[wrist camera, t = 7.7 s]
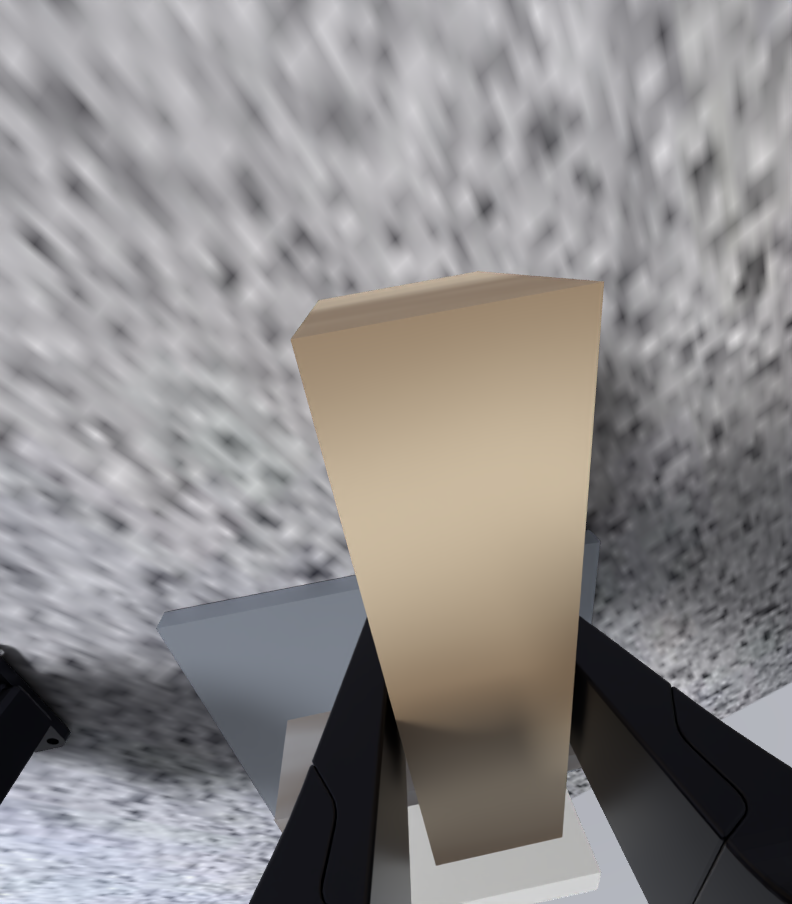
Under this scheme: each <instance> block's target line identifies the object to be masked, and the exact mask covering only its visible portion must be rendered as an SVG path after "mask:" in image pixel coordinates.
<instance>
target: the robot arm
mask: <svg viewBox="0 0 792 904" xmlns="http://www.w3.org/2000/svg"><path fill="white" fill-rule="evenodd" d="M70 733H71V732H70V730H69V729H68V728H67V727H66V726H65V725H64V724H63V722H62V721H61V720H60V719H59V718H58V717H57V716H56V715H55V714H54V713H53V712H52V711H51V710H50V709H49V707H48V706H47V705H46V704H45V703H44V702H43V701H42V700H41V699H40V698H39V697H38V696H37V695H36V694H35V692H34V691H33V690H32V689H31V688H30V687H29V686H28V685H27V684H26V683H25V682H24V681H23V680H22V678H21V677H20V676H19V675H18V674H17V673H16V672H15V671H14V670H13V669H12V668H11V667H10V666H9V665H8V663H7V662H6V661H5V660H4V659H3V658H2V657H1V656H0V805H1V803H2V801H3V800H4V798H5V797H6V795H7V794H8V792H9V790H10V789H11V787H12V786H13V784H14V783H15V781H16V780H17V778H18V776H19V775H20V773H21V772H22V770H23V769H24V767H25V765H26V764H27V762H28V761H29V759H30V758H31V756H32V754H33V753H34V752H38V751H43V750H48V749H53V748H58V747H61V746H63V745H64V744H65V743H66V741H67V739H68V738H69V736H70ZM569 743H570V745H571V747H572V749H573V751H574V753H575V755H576V757H577V759H578V761H579V763H580V765H581V767H582V769H583V771H584V773H585V775H586V777H587V779H588V781H589V783H590V786H591V788H592V790H593V791H594V794H595V795H596V798H597V800H598V802H599V804H600V806H601V808H602V810H603V812H604V814H605V816H606V818H607V820H608V822H609V824H610V826H611V828H612V830H613V832H614V834H615V836H616V838H617V840H618V842H619V844H620V846H621V848H622V851H623V853H624V855H625V857H626V859H627V861H628V863H629V865H630V867H631V869H632V871H633V873H634V875H635V877H636V879H637V881H638V883H639V885H640V887H641V889H642V891H643V893H644V895H645V897H646V899H647V901H648V903H649V904H792V768H791V767H790V766H788V765H787V764H785V763H784V762H782V761H781V760H779V759H778V758H776V757H774V756H773V755H771V754H769V753H768V752H767V751H765V750H764V749H762V748H761V747H759V746H758V745H756V744H755V743H753V742H752V741H750V740H749V739H747V738H746V737H744V736H743V735H741V734H740V733H738V732H737V731H735V730H734V729H732V728H731V727H729V726H728V725H726V724H725V723H723V722H722V721H721V720H719V719H718V718H716V717H715V716H714V715H712V714H711V713H710V712H708V711H707V710H705V709H704V708H703V707H701V706H700V705H698V704H697V703H696V702H694V701H693V700H692V699H690V698H689V697H688V696H686V695H685V694H684V693H682V692H681V691H680V690H678V689H677V688H676V687H671V684H670V683H669V682H667V681H666V680H665V679H663V678H662V677H661V676H659V675H658V674H657V673H655V672H654V671H653V670H651V669H650V668H649V667H647V666H646V665H645V664H643V663H642V662H641V661H639V660H638V659H637V658H635V657H634V656H633V655H631V654H630V653H629V652H627V651H626V650H625V649H623V648H622V647H621V646H619V645H618V644H617V643H615V642H614V641H613V640H611V639H610V638H609V637H607V636H606V635H605V634H604V633H602V632H601V631H600V630H598V629H597V628H596V627H594V626H593V625H592V624H590V623H589V622H588V621H586V620H585V619H584V618H582V617H581V616H580V615H579V622H578V635H577V648H576V662H575V675H574V688H573V702H572V715H571V729H570V742H569ZM312 763H313V765H310V767H309V770H308V772H307V775H306V777H305V780H304V783H303V785H302V788H301V790H300V793H299V795H298V798H297V800H296V803H295V805H294V808H293V810H292V812H291V815H290V817H289V820H288V822H287V824H286V826H285V829H284V831H283V833H282V835H281V837H280V839H279V842H278V844H277V846H276V848H275V850H274V852H273V855H272V857H271V859H270V861H269V863H268V865H267V867H266V869H265V871H264V873H263V875H262V877H261V879H260V882H259V884H258V886H257V888H256V890H255V892H254V894H253V896H252V898H251V900H250V902H249V904H411V879H410V853H409V827H408V801H407V775H406V756H405V752H404V749H403V745H402V741H401V738H400V734H399V730H398V727H397V723H396V720H395V716H394V712H393V709H392V705H391V701H390V698H389V694H388V691H387V687H386V683H385V680H384V676H383V672H382V669H381V665H380V662H379V658H378V654H377V651H376V647H375V643H374V640H373V636H372V633H371V629H370V625H369V622H368V618H367V617H366V620H365V623H364V625H363V628H362V631H361V633H360V636H359V638H358V641H357V644H356V646H355V649H354V652H353V654H352V657H351V659H350V662H349V665H348V667H347V670H346V673H345V675H344V678H343V681H342V683H341V686H340V688H339V691H338V694H337V696H336V699H335V702H334V704H333V707H332V709H331V712H330V715H329V717H328V720H327V723H326V725H325V728H324V731H323V733H322V736H321V738H320V741H319V744H318V746H317V749H316V752H315V754H314V757H313V759H312Z"/></svg>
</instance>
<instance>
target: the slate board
mask: <svg viewBox="0 0 792 904" xmlns="http://www.w3.org/2000/svg"><path fill="white" fill-rule="evenodd" d="M599 551H600V541H599V540H598V538H597V537H596V536H595V535H594V534H593V533H592V532H591V531H590V530H585V542H584V555H583V568H582V582H581V595H580V608H579V615H580V616H581V617H582V618H584V619H585V620H586V621H588V622H589V623H590V624H592V615H593V606H594V597H595V588H596V579H597V569H598V560H599ZM366 617H367V614H366V611H365V607H364V604H363V600H362V596H361V593H360V589H359V585H358V582H357V578H356V575H354V576H349V577H344V578H339V579H333V580H328V581H323V582H318V583H313V584H308V585H303V586H297V587H292V588H287V589H282V590H277V591H272V592H267V593H261V594H256V595H251V596H246V597H241V598H236V599H231V600H226V601H220V602H215V603H210V604H205V605H200V606H195V607H190V608H184V609H179V610H174V611H169V612H165V613H164V615H163V617H162V619H161V621H160V622H159V624H158V626H157V628H156V629H157V631H158V632H159V634H160V636H161V637H162V639H163V640H164V642H165V644H166V645H167V647H168V648H169V650H170V651H171V653H172V655H173V656H174V658H175V659H176V661H177V663H178V664H179V666H180V667H181V669H182V671H183V672H184V674H185V675H186V677H187V679H188V680H189V682H190V683H191V685H192V687H193V688H194V690H195V691H196V693H197V695H198V696H199V698H200V699H201V701H202V703H203V704H204V706H205V707H206V709H207V711H208V712H209V714H210V715H211V717H212V719H213V720H214V722H215V723H216V725H217V727H218V728H219V730H220V731H221V733H222V734H223V736H224V738H225V739H226V741H227V742H228V744H229V746H230V747H231V749H232V750H233V752H234V754H235V755H236V757H237V758H238V760H239V762H240V763H241V765H242V766H243V768H244V770H245V771H246V773H247V774H248V776H249V778H250V779H251V781H252V782H253V784H254V786H255V787H256V789H257V790H258V792H259V794H260V795H261V797H262V798H263V800H264V802H265V803H266V805H267V806H268V808H269V810H270V811H271V813H272V814H273V816H274V817H275V812H276V804H277V797H278V789H279V781H280V774H281V766H282V758H283V751H284V743H285V735H286V728H287V720H291V719H296V718H301V717H305V716H310V715H315V714H319V713H324V712H329V711H331V709H332V707H333V704H334V702H335V699H336V696H337V694H338V691H339V688H340V686H341V683H342V681H343V678H344V675H345V673H346V670H347V667H348V665H349V662H350V659H351V657H352V654H353V652H354V649H355V646H356V644H357V641H358V638H359V636H360V633H361V631H362V628H363V625H364V623H365V620H366ZM572 771H576V769H575V770H571V771H567V772H572Z"/></svg>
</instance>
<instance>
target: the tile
mask: <svg viewBox="0 0 792 904" xmlns="http://www.w3.org/2000/svg"><path fill="white" fill-rule="evenodd" d="M408 827H409V853H410V879H411V904H535V903H540V902H544V901H548V900H553V899H558V898H562V897H567V896H571V895H575V894H580V893H585V892H589V891H594V890H597V889H598V884H599V879H600V875H601V871H600V868H599V866H598V864H597V861H596V859H595V856H594V854H593V851H592V849H591V847H590V844H589V842H588V840H587V837H586V835H585V832H584V830H583V827H582V825H581V822H580V820H579V817H578V815H577V813H576V810H575V808H574V806H573V803H572V801H571V798H570V796H569V793H568V791H567V788H566V795H565V809H564V822H563V835H562V837H561V838H557V839H553V840H548V841H544V842H539V843H535V844H530V845H526V846H522V847H517V848H513V849H508V850H504V851H500V852H495V853H491V854H486V855H482V856H477V857H473V858H469V859H464V860H460V861H455V862H451V863H446V864H442V865H438V866H436V864H435V861H434V857H433V854H432V850H431V846H430V843H429V839H428V835H427V832H426V828H425V825H424V821H423V817H422V814H421V810H420V806H419V804H417V805H413V806H408Z"/></svg>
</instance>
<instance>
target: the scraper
mask: <svg viewBox="0 0 792 904" xmlns="http://www.w3.org/2000/svg"><path fill="white" fill-rule="evenodd" d="M603 288H604V282H602V281H590V280H577V279H565V278H553V277H541V276H529V275H516V274H504V273H492V272H480V271H477V272H472V273H466V274H461V275H455V276H450V277H444V278H439V279H433V280H428V281H422V282H417V283H411V284H406V285H400V286H395V287H389V288H384V289H378V290H373V291H367V292H362V293H356V294H351V295H345V296H340V297H334V298H329V299H323V300H319V301H318V302H317V303H316V305H315V306H314V308H313V309H312V310H311V312H310V313H309V315H308V316H307V317H306V319H305V320H304V322H303V323H302V324H301V326H300V327H299V328H298V330H297V331H296V333H295V334H294V335H293V337H292V338H291V343H292V346H293V350H294V353H295V357H296V361H297V364H298V368H299V372H300V375H301V379H302V382H303V386H304V390H305V393H306V397H307V401H308V404H309V408H310V411H311V415H312V419H313V422H314V426H315V430H316V433H317V437H318V440H319V444H320V448H321V451H322V455H323V459H324V462H325V466H326V469H327V473H328V477H329V480H330V484H331V488H332V491H333V495H334V498H335V502H336V506H337V509H338V513H339V517H340V520H341V524H342V527H343V531H344V535H345V538H346V542H347V546H348V549H349V553H350V556H351V560H352V564H353V567H354V571H355V575H356V578H357V582H358V585H359V589H360V593H361V596H362V600H363V604H364V607H365V611H366V614H367V618H368V622H369V625H370V629H371V633H372V636H373V640H374V643H375V647H376V651H377V654H378V658H379V662H380V665H381V669H382V672H383V676H384V680H385V683H386V687H387V691H388V694H389V698H390V701H391V705H392V709H393V712H394V716H395V720H396V723H397V727H398V730H399V734H400V738H401V741H402V745H403V749H404V752H405V756H406V775H407V801H408V806H413V805H417V804H419V806H420V810H421V814H422V817H423V821H424V825H425V828H426V832H427V835H428V839H429V843H430V846H431V850H432V854H433V857H434V861H435V864H436V866H438V865H442V864H446V863H451V862H455V861H460V860H464V859H469V858H473V857H477V856H482V855H486V854H491V853H495V852H500V851H504V850H508V849H513V848H517V847H522V846H526V845H530V844H535V843H539V842H544V841H548V840H553V839H557V838H561V837H562V835H563V822H564V809H565V795H566V782H567V771H571V770H575V769H580V768H582V767H581V765H580V763H579V761H578V759H577V757H576V755H575V753H574V751H573V749H572V747H571V745H570V743H569V742H570V729H571V715H572V702H573V688H574V675H575V662H576V648H577V635H578V622H579V608H580V595H581V582H582V568H583V555H584V542H585V528H586V515H587V502H588V488H589V475H590V462H591V448H592V435H593V422H594V408H595V395H596V382H597V368H598V355H599V342H600V328H601V315H602V302H603ZM330 712H331V711H329V712H324V713H319V714H315V715H310V716H305V717H301V718H296V719H291V720H287V728H286V735H285V743H284V751H283V758H282V766H281V774H280V781H279V789H278V797H277V804H276V812H275V820H274V821H275V822H276V824H277V825H278V827H279V828H280V830H281V832H282V833H283V831H284V829H285V826H286V824H287V822H288V820H289V817H290V815H291V812H292V810H293V808H294V805H295V803H296V800H297V798H298V795H299V793H300V790H301V788H302V785H303V783H304V780H305V777H306V775H307V772H308V770H309V767H310V765H313V763H312V759H313V757H314V754H315V752H316V749H317V746H318V744H319V741H320V738H321V736H322V733H323V731H324V728H325V725H326V723H327V720H328V717H329V715H330Z"/></svg>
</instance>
